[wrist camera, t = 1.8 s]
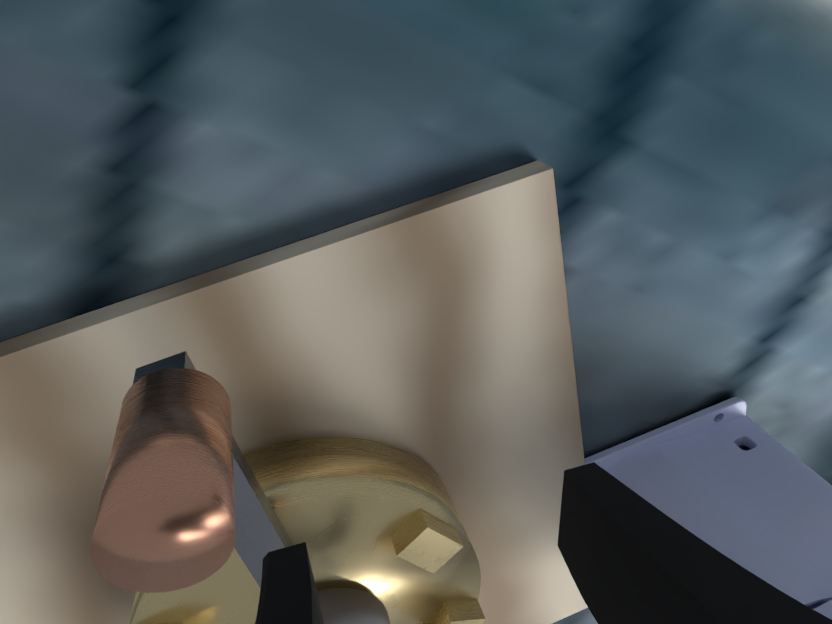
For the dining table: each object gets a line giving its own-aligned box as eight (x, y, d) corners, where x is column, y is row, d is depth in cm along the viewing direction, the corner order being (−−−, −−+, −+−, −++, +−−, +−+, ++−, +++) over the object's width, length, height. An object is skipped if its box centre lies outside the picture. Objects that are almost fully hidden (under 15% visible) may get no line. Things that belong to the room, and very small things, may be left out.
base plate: (538, 160, 19) (655, 225, 14) (589, 585, 32) (661, 701, 27) (-283, 437, 16) (-516, 650, 11) (138, 785, 29) (121, 959, 24)
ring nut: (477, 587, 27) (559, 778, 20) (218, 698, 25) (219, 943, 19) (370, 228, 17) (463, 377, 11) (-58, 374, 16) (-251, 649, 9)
